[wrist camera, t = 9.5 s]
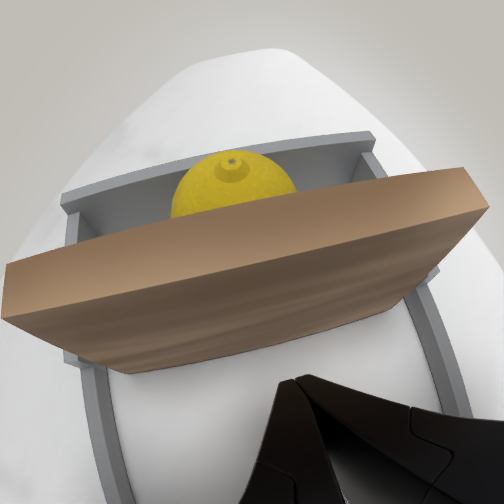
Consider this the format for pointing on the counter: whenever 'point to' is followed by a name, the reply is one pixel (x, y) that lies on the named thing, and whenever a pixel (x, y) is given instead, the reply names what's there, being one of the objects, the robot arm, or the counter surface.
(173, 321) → the board
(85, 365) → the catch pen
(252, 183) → the lemon
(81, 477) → the counter surface
